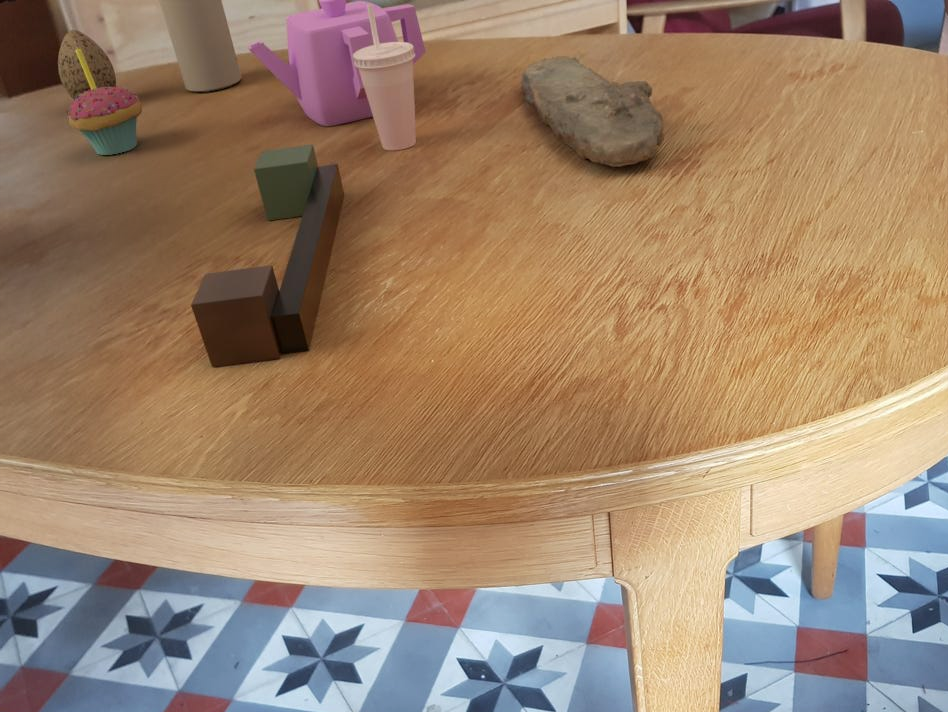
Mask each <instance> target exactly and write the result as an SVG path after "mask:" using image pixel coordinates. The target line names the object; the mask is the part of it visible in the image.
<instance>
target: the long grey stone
mask: <svg viewBox="0 0 948 712" xmlns="http://www.w3.org/2000/svg"><path fill="white" fill-rule="evenodd" d="M520 85H521V91H522V92H523V93H524V94H525V95H524V96H525V99H524V100H525V102H526V103H528V105H529V106H532V108H533V109H536V111H537V113H538V115H537V116H538V117H539V119H540V122H541V124H546V125H548V127H550V129H551V130H552V132H553V134H554V136H555V137H557V138H559V139H561V140H562V142H564V143H565V144H566V145H568V146H569V148H572V150H573V151H575V152H576V154H577V155H578V156H579V157H580V159H582V160H587V159H588V160H590V162H592V163H599V164H602V165H605V166H609V167H612V168H615V167H624V166H627V165H636V164H638V163H640V162H644V161H647V160H648V159H652V158H654V157H655V154H656V150H657V149H656V147H657V146H659V147H661V145H662V143H663V141H664V139H665V137H664V120H663V116H662V112H660V111H659V110H658V109H656V108H655V105H654V104H653V103H652V101H651V99H650V98H651V96H652V94H653V87H652V86H651V85H650V83H648V82H647V81H645V80H642V81H641V80H638V81H628V82H627V81H625V82H624V83H622V84H621V83H619V82H617V81H611V82H610V81H609V80H608V79H607V78H604V77H603V76H602V75H600V74H599V73H598V72H594V69H592V68H590V67H589V68H588V67H587V66H585V65H584V64H582V63H580V61H579V60H578V59H577V57H572V58H570V57H569V56H566V55H562V56H555V57H554V56H553V57H550V58H546V57H545V58H542V59H541V60H539V61H535V62H533V63H531V64H530V65H529V66H528V67H527V68H525V69H524V71H523V72H522V74H521V82H520Z"/></svg>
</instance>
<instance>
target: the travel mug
mask: <svg viewBox="0 0 948 712" xmlns="http://www.w3.org/2000/svg"><path fill="white" fill-rule="evenodd" d="M159 3H160V7H161V11H162V15H163V17H164V21H165V24H166V27H167V31H168V34H169V37H170V41H171V44H172V47H173V50H174V54H175V58H176V61H177V64H178V67H179V71H180V75H181V77H182V81H183V85H184V87H185V89H186V90H187V91H189V92H192V91H193V92H192V93H197V92H203V93H211V92H210V91H212V92H216V91H215V90H217V91H221V90H225V89H227V87H228V88H230V87H233V86H235V85H236V84H238V83H239V82H240V81H241V80H242V73H241V70H240V66H239V65H240V64H239V62H238V58H237V54H236V52H235V46H234V42H233V39H232V36H231V32H230V28H229V25H228V20H227V16H226V13H225V8H224V5H223V1H222V0H159ZM237 82H238V83H237ZM234 84H235V85H234ZM232 85H233V86H232ZM224 88H225V89H224ZM220 89H221V90H220Z"/></svg>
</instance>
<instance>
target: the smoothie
mask: <svg viewBox="0 0 948 712" xmlns="http://www.w3.org/2000/svg"><path fill="white" fill-rule="evenodd" d="M372 4H373V3H372ZM372 4H369V5H367V8H368V14H369V19H370V25H371V31H372V36H373V42H374V45H372V46H368V47H365V48H362V49H360V50H358V51H356V52H355V53H354V54H353V58H354V65H355V66H356V67H358V69H359V72H360V76H361V79H362V82H363V85H364V89H365V92H366V95H367V98H368V101H369V105H370V108H371V111H372V114H373V117H372V118H373V121H374V123H375V127H376V130H377V133H378V136H379V140H380V143H381V147H382V149H383V150H385V151H401V150H406V149H409V148H412V147H413V146H415V145H416V144H417V131H416V130H417V129H416V106H415V83H414V64H413V58H414V57H415V53H414V47H413V45H412V44H410V43H406V42H404V41H398V42H389V43H381V44H379V39H378V33H377V27H376V22H375V16H374V10H373V5H372Z"/></svg>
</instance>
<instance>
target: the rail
mask: <svg viewBox="0 0 948 712" xmlns="http://www.w3.org/2000/svg"><path fill="white" fill-rule="evenodd" d="M344 197H345V190H344V186H343V181H342V177H341V172H340V168H339V164H338V163H335V164H327V165H320V166H319V165H318V167H317V170H316V173H315V177H314V180H313V183H312V186H311V190H310V193H309V196H308V199H307V203H306V206H305V209H304V212H303V216H301V219H300V222H299V226H298V229H297V231H296V235H295V239H294V242H293V245H292V249H291V252H290V255H289V258H288V261H287V263H286V264H287V265H286V268H285V271H284V275H283V278H282V281H281V285H280V288H279V294H278V297H277V300H276V303H275V307H274V310H273V313H272V316H271V318H272V321H273V325H274V328H275V332H276V335H277V339H278V342H279V346H280V349H281V355H283V354H290V353H292V354H293V353H298V352H299V353H301V352H306V351H307V352H308V351H310V347H311V342H312V338H313V333H314V329H315V325H316V321H317V315H318V311H319V307H320V302H321V298H322V294H323V293H322V292H323V289H324V286H325V280H326V278H327V277H326V276H327V272H328V267H329V263H330V258H331V254H332V249H333V247H334V246H333V245H334V241H335V236H336V232H337V227H338V223H339V219H340V214H341V211H342V210H341V209H342V206H343V201H344Z"/></svg>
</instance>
